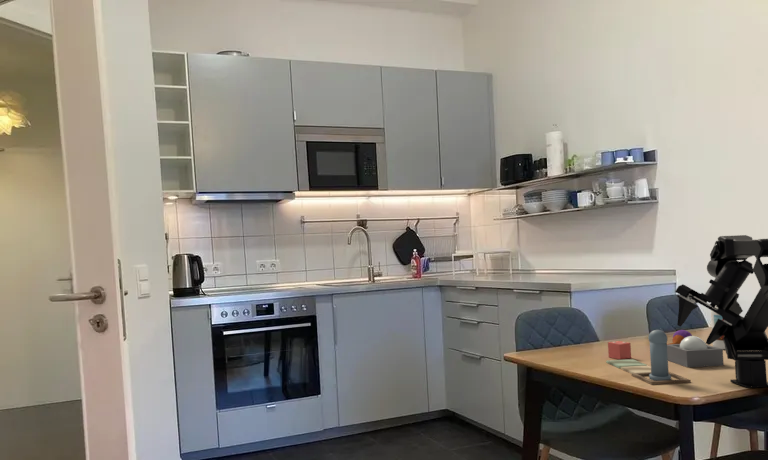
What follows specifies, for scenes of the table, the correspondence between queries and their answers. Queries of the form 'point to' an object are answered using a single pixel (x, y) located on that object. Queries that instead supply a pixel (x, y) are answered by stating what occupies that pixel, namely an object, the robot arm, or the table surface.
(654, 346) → the pawn
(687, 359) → the grey open box
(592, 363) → the table surface
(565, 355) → the table surface
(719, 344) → the milk bottle
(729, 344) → the robot arm
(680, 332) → the maraca
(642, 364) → the game track
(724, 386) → the table surface
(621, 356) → the red block
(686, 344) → the dome
